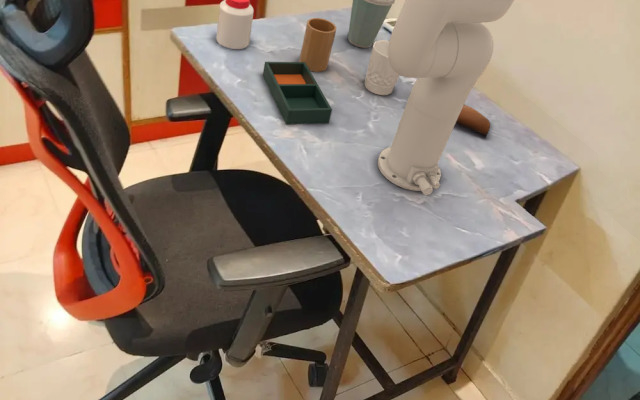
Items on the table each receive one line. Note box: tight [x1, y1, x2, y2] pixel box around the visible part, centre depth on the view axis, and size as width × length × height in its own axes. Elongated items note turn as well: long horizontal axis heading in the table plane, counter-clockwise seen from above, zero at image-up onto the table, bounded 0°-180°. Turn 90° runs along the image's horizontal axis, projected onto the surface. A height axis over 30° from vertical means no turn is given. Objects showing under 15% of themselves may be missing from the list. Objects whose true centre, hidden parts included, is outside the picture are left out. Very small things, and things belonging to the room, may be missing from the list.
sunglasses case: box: [455, 104, 491, 137], centre depth 133 cm, size 18×7×7 cm
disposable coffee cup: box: [347, 0, 396, 49], centre depth 148 cm, size 11×11×15 cm
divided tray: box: [262, 61, 333, 126], centre depth 126 cm, size 9×18×4 cm, turn 20°
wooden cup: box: [298, 17, 337, 73], centre depth 136 cm, size 7×7×10 cm
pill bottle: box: [216, 0, 255, 50], centre depth 136 cm, size 8×8×11 cm
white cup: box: [364, 39, 400, 96], centre depth 134 cm, size 8×8×10 cm
